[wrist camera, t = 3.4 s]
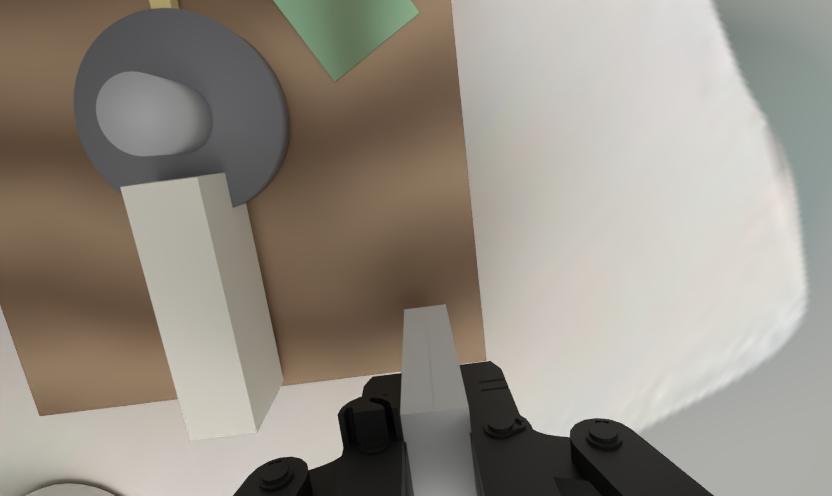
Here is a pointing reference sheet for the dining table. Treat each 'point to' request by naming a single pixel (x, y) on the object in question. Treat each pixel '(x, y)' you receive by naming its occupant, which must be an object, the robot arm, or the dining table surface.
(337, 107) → the board
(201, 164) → the tuning dial
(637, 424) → the dining table surface
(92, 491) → the milk bottle
